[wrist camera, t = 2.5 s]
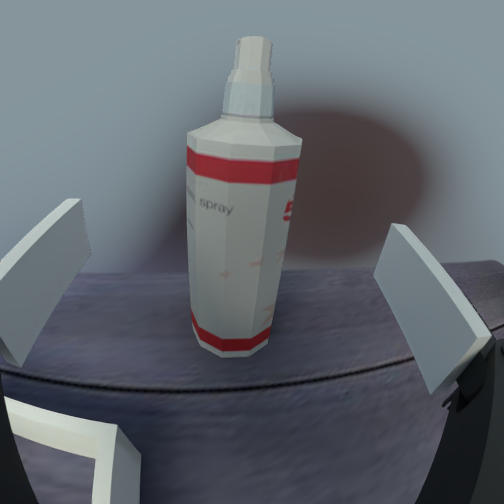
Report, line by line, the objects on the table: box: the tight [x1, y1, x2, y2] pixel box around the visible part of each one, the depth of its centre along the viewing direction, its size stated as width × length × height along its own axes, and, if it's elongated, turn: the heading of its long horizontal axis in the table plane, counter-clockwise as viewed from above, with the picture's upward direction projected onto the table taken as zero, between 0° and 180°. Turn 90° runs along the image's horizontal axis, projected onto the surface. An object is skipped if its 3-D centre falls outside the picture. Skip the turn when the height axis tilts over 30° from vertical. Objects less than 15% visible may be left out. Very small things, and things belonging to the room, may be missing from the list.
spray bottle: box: [187, 36, 302, 358], centre depth 21 cm, size 8×8×25 cm
